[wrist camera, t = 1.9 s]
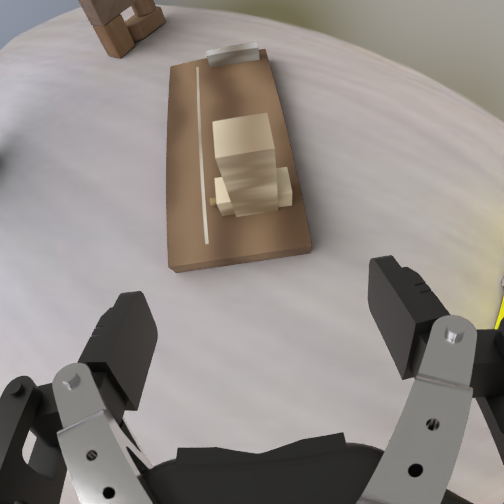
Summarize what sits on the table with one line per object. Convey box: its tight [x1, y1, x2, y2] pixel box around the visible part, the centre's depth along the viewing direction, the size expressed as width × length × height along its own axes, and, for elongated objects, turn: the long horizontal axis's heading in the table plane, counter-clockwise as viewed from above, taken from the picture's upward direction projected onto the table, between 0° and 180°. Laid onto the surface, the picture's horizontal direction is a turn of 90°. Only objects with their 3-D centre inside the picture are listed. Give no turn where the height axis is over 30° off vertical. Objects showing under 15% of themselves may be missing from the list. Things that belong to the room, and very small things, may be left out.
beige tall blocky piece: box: [210, 113, 292, 217], centre depth 23 cm, size 7×3×9 cm, turn 97°
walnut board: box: [166, 42, 312, 273], centre depth 30 cm, size 12×26×4 cm, turn 7°
